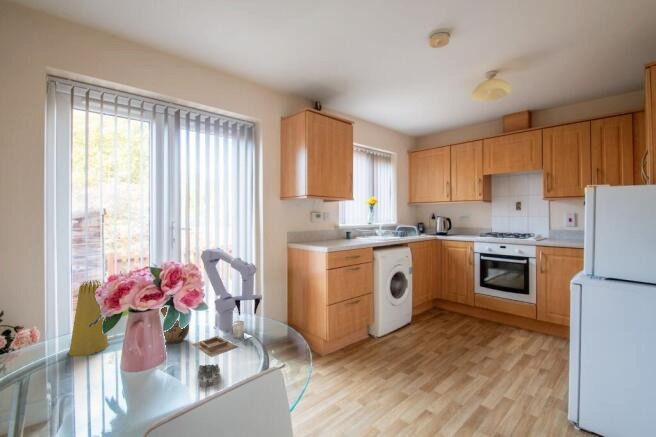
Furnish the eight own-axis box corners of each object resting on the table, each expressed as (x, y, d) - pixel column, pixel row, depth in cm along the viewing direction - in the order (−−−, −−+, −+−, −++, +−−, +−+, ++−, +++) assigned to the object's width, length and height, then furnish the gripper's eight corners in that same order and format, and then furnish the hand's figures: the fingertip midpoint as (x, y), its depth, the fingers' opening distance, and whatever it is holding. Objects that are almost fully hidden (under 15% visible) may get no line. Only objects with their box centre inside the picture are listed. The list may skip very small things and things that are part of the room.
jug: (232, 335, 145) (233, 321, 145) (243, 334, 147) (243, 320, 147) (233, 342, 137) (233, 327, 137) (244, 341, 139) (244, 326, 139)
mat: (222, 337, 143) (222, 336, 143) (241, 331, 152) (241, 330, 152) (234, 344, 136) (234, 343, 136) (254, 337, 145) (254, 336, 145)
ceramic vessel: (196, 338, 142) (197, 287, 142) (188, 346, 133) (190, 292, 133) (162, 338, 141) (163, 286, 141) (151, 346, 132) (153, 291, 132)
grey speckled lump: (219, 386, 104) (220, 374, 104) (196, 389, 101) (197, 378, 101) (219, 370, 114) (219, 360, 114) (198, 373, 111) (199, 363, 111)
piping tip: (115, 345, 132) (116, 279, 131) (79, 358, 119) (80, 286, 119) (98, 339, 137) (99, 276, 137) (61, 351, 125) (63, 282, 125)
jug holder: (191, 345, 134) (191, 340, 134) (217, 337, 144) (217, 332, 144) (211, 358, 122) (211, 353, 122) (238, 348, 133) (238, 343, 132)
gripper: (233, 290, 143) (232, 317, 143) (263, 288, 148) (262, 315, 148) (232, 287, 150) (232, 313, 150) (261, 285, 155) (260, 311, 155)
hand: (247, 314), depth 150 cm, fingers open, 7 cm apart
